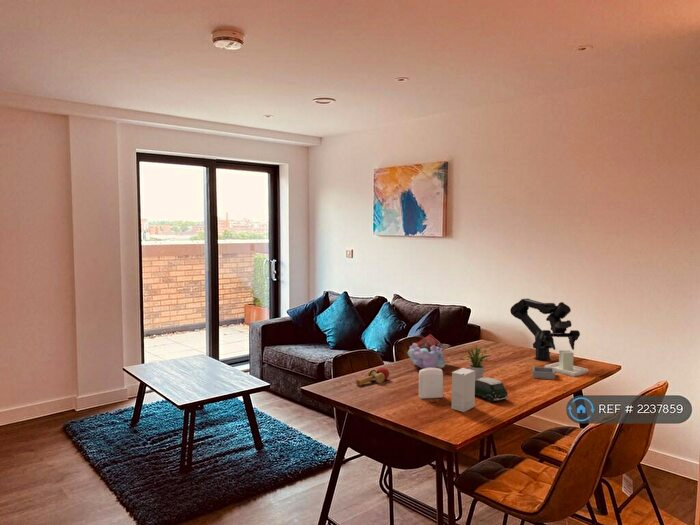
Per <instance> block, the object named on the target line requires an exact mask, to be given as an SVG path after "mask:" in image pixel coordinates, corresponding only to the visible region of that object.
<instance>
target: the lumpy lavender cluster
mask: <svg viewBox="0 0 700 525" xmlns="http://www.w3.org/2000/svg"><path fill="white" fill-rule="evenodd" d="M450 347H452V345H451V344H446V343H441V342H440V341H439V340H438V339H436V337H435V336H434V335H432V334H431V333H430V334H428V335H426V337H423V338H422V339H421V340H419V341H418V342H413V343H412V345H410V346H409V349H408V351H407V355H408V357H409V358H410V359H411V361H412V363H413V365H416V366H417V367H419V368H420V369H425V368H438V369H441V370H442V369H443V368H445V365H446V360H445V358H444V357H445V354H444V352H443V351H445V350H446V349H448V348H450Z"/></svg>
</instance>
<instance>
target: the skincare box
mask: <svg viewBox="0 0 700 525" xmlns="http://www.w3.org/2000/svg"><path fill="white" fill-rule="evenodd" d="M451 373H452V375H451V407H450V408H451V410H456V411H458V412H462V413H466V412H467V411H469V410H471V409H473V408H475V401H476V399H475V398H476V397H475V395H476V394H475V371H474V370H470V369H469V368H465V367H462V368H459V369H456V370H455V371H452V372H451Z"/></svg>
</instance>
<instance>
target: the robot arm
mask: <svg viewBox="0 0 700 525" xmlns="http://www.w3.org/2000/svg"><path fill="white" fill-rule="evenodd" d="M530 309H535V310H538V312H540V313H541V314H544V315H548V316H547V317H546V318H545V321H547V322H549V325H550V329H541V328H540V327H539V325H538V324H537V323H536V322H535V321H534V319H532V318H531V316H529V314H528V313H529V311H528V310H530ZM509 311H510V314H511V316H513V317H514V318H516V319H517V320H520V321H521V322H522V324H524V325H525V327H526V328H527V329H528V330H529V331H530V332H531V334H532V335H533V336H534V339H535V340H534V342H533V343H532V348H533V349H535V357H533V360H537V361H541V362H547V361H551V360H552V359H551V358H550V357H551V353H550V350H551V349H553V350H555V351H556V346H555V343H554V342H555V341H554V338H568V342H569V345H570V347H571V350H572V351H573V350H575V342H576V341H577V340H578V339H579V337H580V336H581V333H580V331H579V330H577V329H576V330H569V332H567V329H569V328H571V327H572V321H571V320H568V319H567V320H566V321H565V320H564V321H563V319H565V318H566V317H567V316H568V315H569V314H570V313H571V311H572V310H571V307H570V306H569V305H567V304H566V303H564V302H559V303H558V304H557V305H556V303H554V302H542V301H538V300H533V299H531V298H521V299H520V300H519V301H518V302H516V303H515V304H513V305H512V306H511V308H510V310H509Z"/></svg>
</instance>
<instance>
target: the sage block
mask: <svg viewBox="0 0 700 525" xmlns="http://www.w3.org/2000/svg"><path fill="white" fill-rule="evenodd" d="M558 353H559V354H558V362H559V369H563V370H567V371H573V366H574V358H575V357H574V355H575V354H574V352H573V351H571V350H559V351H558Z"/></svg>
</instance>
